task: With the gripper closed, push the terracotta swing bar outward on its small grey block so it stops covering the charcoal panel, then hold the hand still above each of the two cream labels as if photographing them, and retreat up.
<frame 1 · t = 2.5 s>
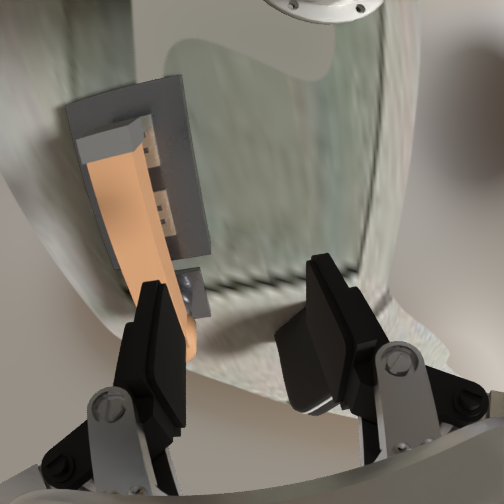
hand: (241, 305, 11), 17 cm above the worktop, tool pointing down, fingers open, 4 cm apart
label panel: (143, 174, 25), on the worktop
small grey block: (176, 295, 32), on the worktop
swing bar: (146, 262, 23), point 6 cm above the worktop, hinge at 0.0°
battery charger: (302, 321, 37), on the worktop
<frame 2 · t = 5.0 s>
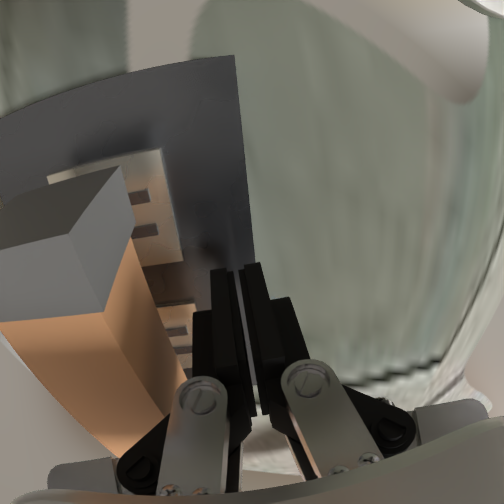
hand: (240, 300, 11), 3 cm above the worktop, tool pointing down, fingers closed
label panel: (146, 257, 13), on the worktop
swing bar: (164, 435, 11), point 6 cm above the worktop, hinge at 1.2°, touching gripper
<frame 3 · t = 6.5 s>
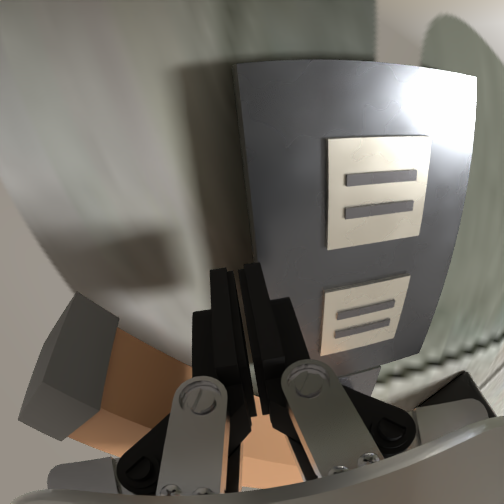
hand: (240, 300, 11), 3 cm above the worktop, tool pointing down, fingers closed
label panel: (352, 236, 14), on the worktop
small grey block: (331, 394, 21), on the worktop
swing bar: (270, 449, 12), point 6 cm above the worktop, hinge at 39.2°, touching gripper
battery charger: (443, 391, 26), on the worktop
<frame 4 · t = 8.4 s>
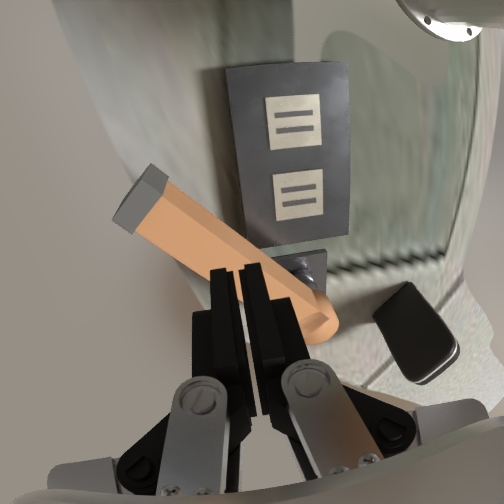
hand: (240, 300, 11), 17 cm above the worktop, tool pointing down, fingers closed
label panel: (290, 152, 25), on the worktop
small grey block: (296, 278, 32), on the worktop
swing bar: (244, 271, 24), point 6 cm above the worktop, hinge at 40.2°
battery charger: (395, 302, 37), on the worktop
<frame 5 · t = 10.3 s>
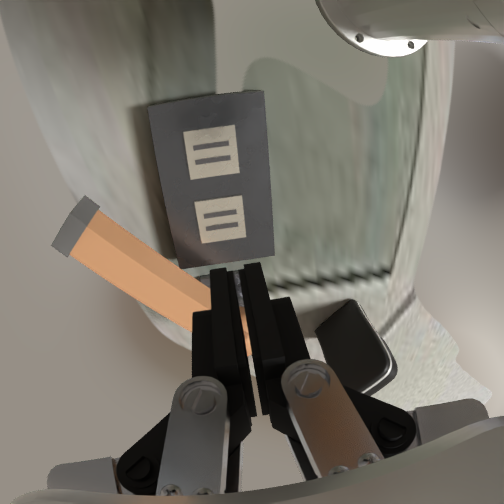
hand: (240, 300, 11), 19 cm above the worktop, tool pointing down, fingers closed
label panel: (215, 179, 28), on the worktop
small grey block: (232, 294, 35), on the worktop
swing bar: (167, 289, 26), point 6 cm above the worktop, hinge at 40.2°
battery charger: (339, 318, 40), on the worktop
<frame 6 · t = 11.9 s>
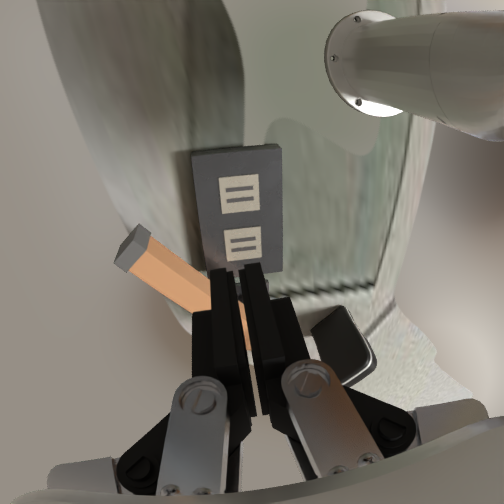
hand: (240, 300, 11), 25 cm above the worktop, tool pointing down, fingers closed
label panel: (239, 211, 36), on the worktop
swing bar: (201, 296, 34), point 6 cm above the worktop, hinge at 40.2°
battery charger: (331, 321, 48), on the worktop
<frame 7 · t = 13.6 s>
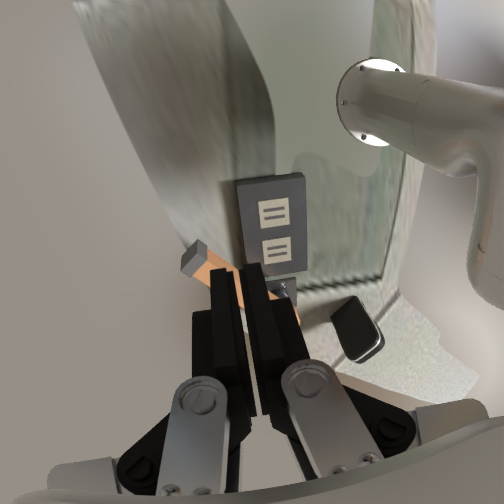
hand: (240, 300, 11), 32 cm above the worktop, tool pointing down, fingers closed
label panel: (272, 225, 46), on the worktop
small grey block: (278, 294, 53), on the worktop
swing bar: (246, 293, 45), point 6 cm above the worktop, hinge at 40.2°
battery charger: (347, 309, 58), on the worktop
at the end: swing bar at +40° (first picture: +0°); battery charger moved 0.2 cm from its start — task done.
